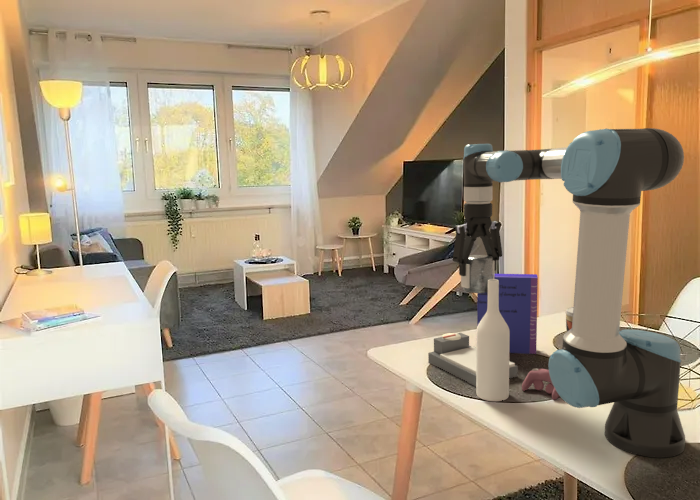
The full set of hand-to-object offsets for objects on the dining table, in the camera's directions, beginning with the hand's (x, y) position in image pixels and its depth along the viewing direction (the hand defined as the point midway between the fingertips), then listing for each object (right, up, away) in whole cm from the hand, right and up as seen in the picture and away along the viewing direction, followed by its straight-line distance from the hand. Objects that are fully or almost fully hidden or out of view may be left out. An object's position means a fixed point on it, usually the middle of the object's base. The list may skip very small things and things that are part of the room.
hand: (477, 285), depth 159 cm
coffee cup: (+36, -21, +21) cm, 47 cm away
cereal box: (+13, -22, +21) cm, 33 cm away
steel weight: (0, -1, 0) cm, 1 cm away
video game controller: (+14, -27, -11) cm, 33 cm away
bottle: (+1, -28, -11) cm, 30 cm away
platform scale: (0, -24, +6) cm, 25 cm away
